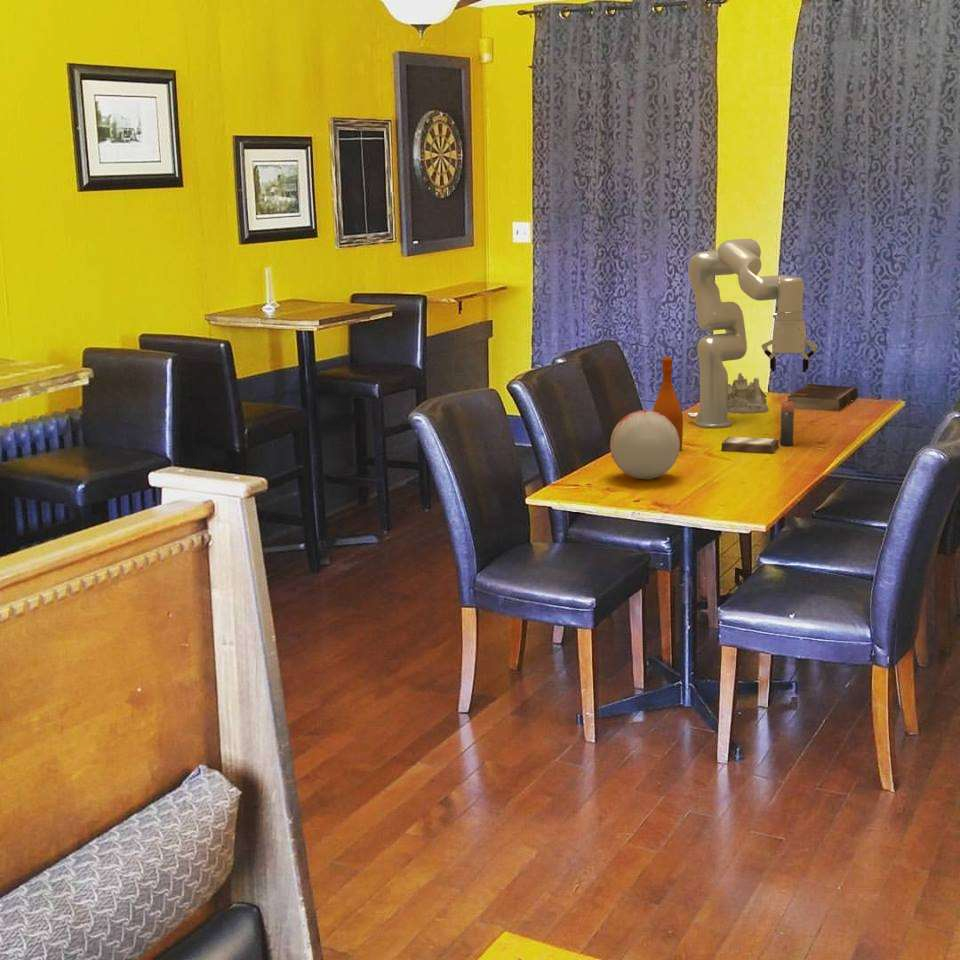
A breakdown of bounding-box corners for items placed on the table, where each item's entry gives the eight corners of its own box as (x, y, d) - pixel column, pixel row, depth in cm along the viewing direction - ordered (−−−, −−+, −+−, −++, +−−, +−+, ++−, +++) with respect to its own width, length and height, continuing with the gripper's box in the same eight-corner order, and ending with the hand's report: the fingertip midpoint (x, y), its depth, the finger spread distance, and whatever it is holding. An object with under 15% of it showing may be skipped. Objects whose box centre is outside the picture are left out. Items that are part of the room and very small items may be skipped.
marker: (779, 446, 393) (780, 403, 390) (781, 443, 397) (782, 400, 393) (791, 446, 392) (793, 403, 388) (794, 444, 395) (795, 401, 392)
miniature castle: (771, 412, 448) (770, 371, 445) (726, 415, 448) (724, 374, 445) (762, 407, 463) (760, 367, 460) (718, 410, 463) (716, 371, 461)
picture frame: (721, 450, 389) (721, 442, 389) (728, 444, 398) (728, 436, 398) (772, 453, 383) (772, 445, 382) (778, 447, 392) (778, 438, 391)
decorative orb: (608, 471, 368) (607, 405, 363) (675, 469, 367) (675, 403, 363) (613, 488, 348) (612, 419, 343) (684, 486, 347) (684, 417, 342)
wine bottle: (686, 447, 396) (686, 355, 389) (677, 453, 387) (678, 359, 380) (656, 445, 400) (656, 354, 393) (647, 452, 392) (647, 358, 384)
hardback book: (838, 412, 446) (839, 399, 445) (787, 409, 455) (787, 396, 454) (857, 399, 470) (857, 386, 469) (808, 396, 479) (808, 384, 478)
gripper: (759, 318, 384) (759, 372, 388) (816, 318, 378) (815, 373, 381) (764, 315, 391) (763, 369, 395) (820, 315, 384) (818, 370, 388)
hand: (789, 371), depth 388 cm, fingers open, 9 cm apart
